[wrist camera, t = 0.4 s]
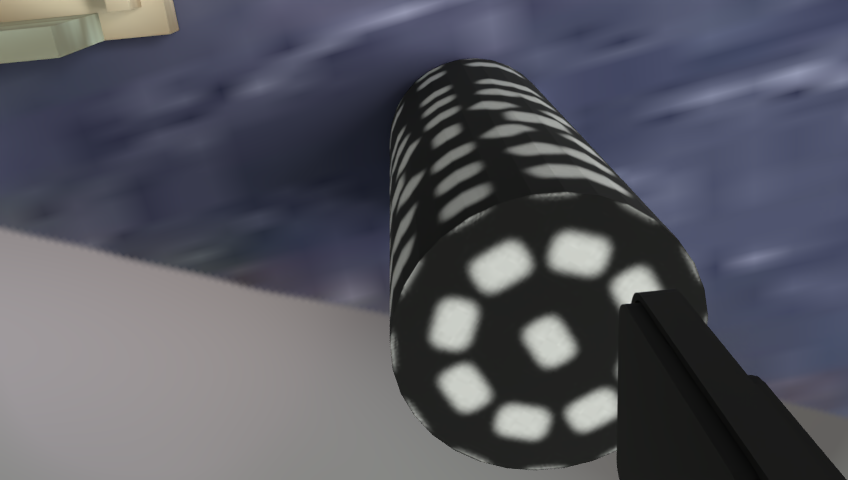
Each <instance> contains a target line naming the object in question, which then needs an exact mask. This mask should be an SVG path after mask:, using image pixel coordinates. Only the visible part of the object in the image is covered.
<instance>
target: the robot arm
mask: <svg viewBox="0 0 848 480" xmlns="http://www.w3.org/2000/svg"><path fill="white" fill-rule="evenodd" d="M617 468H618V475H619V479H620V480H846V479H845V477H844V476H843V475H842V474H841V473H840V471H839V470H838V469H837V468H836V467H835V466H834V464H833V463H832V462H831V461H830V460H829V458H828V457H827V456H826V455H825V454H824V452H823V451H822V450H821V449H820V448H819V446H817V444H816V443H815V442H814V440H813V439H812V438H811V437H810V436H809V434H808V433H807V432H806V431H805V430H804V429H803V428H802V426H801V425H800V424H799V423H798V422H797V420H796V419H795V418H794V417H793V415H792V414H791V413H790V412H789V411H788V409H787V408H786V407H785V406H784V405H783V403H782V402H781V401H780V400H779V399H778V398H777V396H776V395H775V394H774V393H773V392H772V390H771V389H770V388H769V387H768V386H767V384H766V383H765V382H764V381H762V380H761V379H760V378H759V377H758V376H753V375H747V374H746V373H745V371H744V370H743V369H742V368H741V366H740V365H739V364H738V363H737V361H736V360H735V359H734V358H733V357H732V355H731V354H730V353H729V352H728V350H727V349H726V348H725V347H724V345H723V344H722V343H721V342H720V341H719V339H718V338H717V337H716V336H715V334H714V333H713V332H712V331H711V329H710V328H709V327H708V326H707V325H706V323H705V322H704V321H703V320H702V318H701V317H700V316H699V315H698V314H697V312H696V311H695V310H694V309H693V307H692V306H691V305H690V304H689V302H688V301H687V300H686V299H685V298H684V296H683V295H682V294H681V293H680V292H679V291H678V290H677V289H667V290H657V291H647V292H637V293H635V294H634V295H633V297H632V301H631V303H630V304H622V305H621V306H620V309H619V334H618V401H617Z"/></svg>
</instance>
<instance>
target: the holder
mask: <svg viewBox="0 0 848 480" xmlns="http://www.w3.org/2000/svg"><path fill="white" fill-rule="evenodd" d="M178 30H179V27H178V22H177V18H176V13H175V8H174V4H173V0H0V64H1V63H11V62H22V61H32V60H42V59H52V58H60V57H63V56H65V55H68V54H71V53H73V52H76V51H78V50H81V49H84V48H86V47H89V46H92V45H94V44H97V43H99V42H102V41H105V40H114V39H125V38H135V37H145V36H155V35H166V34H172V33H174V32H176V31H178Z"/></svg>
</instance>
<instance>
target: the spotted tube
mask: <svg viewBox="0 0 848 480" xmlns="http://www.w3.org/2000/svg"><path fill="white" fill-rule="evenodd" d="M667 289H677V290H678V291H679V292H680V293H681V294H682V295H683V296H684V298H685V299H686V300H687V301H688V302H689V304H690V305H691V306H692V307H693V309H694V310H695V311H696V312H697V314H698V315H699V316H700V317H701V318H702V320H703V321H704V322H705V323H706V325H707V321H708V313H707V305H706V298H705V290H704V287H703V284H702V282H701V279H700V276H699V274H698V271H697V269H696V266H695V263H694V262H693V261H692V259H691V258H690V256H689V255H688V253H687V252H686V250H685V249H684V247H683V246H682V245H681V243H680V242H679V240H678V239H677V238H676V237H675V236H674V235H673V234H672V233H671V232H670V231H669V229H668V228H667V227H666V226H665V225H664V224H663V223H662V222H661V221H660V220H659V219H658V218H657V217H656V216H655V214H654V213H653V212H652V211H651V210H650V209H649V208H648V207H647V206H646V205H645V204H644V203H643V202H642V201H641V199H640V198H639V197H638V196H637V195H636V194H635V193H634V192H633V191H632V190H631V189H630V188H629V187H628V186H627V184H626V183H625V182H624V181H623V180H622V179H621V178H620V177H619V176H618V175H617V174H616V173H615V172H614V171H613V169H612V168H611V167H610V166H609V165H608V164H607V163H606V162H605V161H604V160H603V159H602V158H601V157H600V156H599V155H598V153H597V152H596V151H595V150H594V149H593V148H592V147H591V146H590V145H589V144H588V143H587V142H586V141H585V140H584V138H583V137H582V136H581V135H580V134H579V133H578V132H577V131H576V130H575V129H574V128H573V127H572V126H571V125H570V123H569V122H568V121H567V120H566V119H565V118H564V117H563V116H562V115H561V114H560V113H559V112H558V111H557V110H556V108H555V107H554V106H553V105H552V104H551V103H550V102H549V101H548V100H547V99H546V98H545V97H544V96H543V95H542V93H541V92H540V91H539V90H538V89H537V88H536V87H535V86H534V85H533V84H532V83H531V82H530V81H529V80H528V79H527V78H525V77H524V76H523V75H522V74H521V73H519V72H517V71H516V70H514V69H512V68H511V67H509V66H507V65H504V64H501V63H498V62H495V61H492V60H484V59H476V58H475V59H462V60H457V61H453V62H449V63H446V64H443V65H441V66H439V67H437V68H435V69H433V70H431V71H429V72H428V73H426V74H425V75H424V76H422V77H421V78H420V79H419V80H417V81H416V82H415V83H414V84H413V85H412V87H411V88H410V89H409V90H408V91H407V92H406V94H405V95H404V97H403V98H402V100H401V102H400V104H399V105H398V107H397V109H396V112H395V115H394V118H393V121H392V125H391V134H390V347H391V358H392V368H393V372H394V375H395V377H396V380H397V383H398V386H399V389H400V392H401V395H402V396H403V398H404V399H405V401H406V403H407V404H408V406H409V407H410V409H411V411H412V412H413V414H414V416H415V417H416V418H417V419H418V420H419V421H420V422H421V423H422V424H423V425H424V426H425V427H426V428H427V429H428V430H429V432H430V433H432V435H434V436H435V437H436V438H438V439H439V440H441V441H442V442H444V443H445V444H446V445H448V446H449V447H451V448H452V449H454V450H455V451H457V452H460V453H462V454H464V455H466V456H469V457H471V458H473V459H476V460H478V461H480V462H484V463H488V464H493V465H496V466H501V467H505V468H512V469H525V470H544V469H556V468H565V467H569V466H574V465H578V464H581V463H586V462H590V461H593V460H596V459H598V458H600V457H603V456H605V455H608V454H610V453H613V452H615V451H617V401H618V334H619V309H620V306H621V305H622V304H630V303H631V301H632V297H633V295H634V294H635V293H637V292H647V291H657V290H667Z"/></svg>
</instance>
